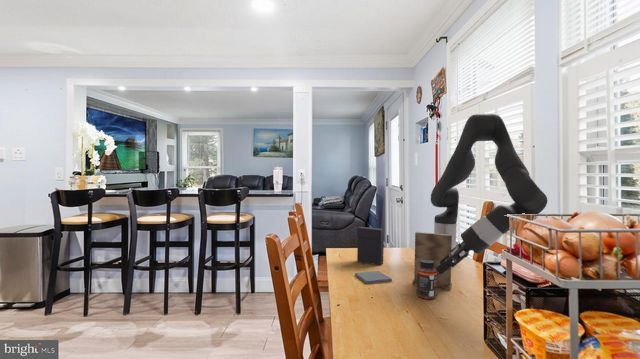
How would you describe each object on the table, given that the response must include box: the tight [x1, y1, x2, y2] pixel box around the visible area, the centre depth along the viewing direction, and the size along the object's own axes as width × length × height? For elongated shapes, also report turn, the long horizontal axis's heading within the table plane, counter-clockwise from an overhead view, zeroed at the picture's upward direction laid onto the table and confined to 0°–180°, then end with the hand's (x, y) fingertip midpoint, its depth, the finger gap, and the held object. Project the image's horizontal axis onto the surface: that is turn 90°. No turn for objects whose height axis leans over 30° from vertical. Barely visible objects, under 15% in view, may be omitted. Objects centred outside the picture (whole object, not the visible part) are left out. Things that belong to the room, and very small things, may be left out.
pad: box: [354, 270, 393, 285], centre depth 125 cm, size 10×10×1 cm
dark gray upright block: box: [356, 226, 385, 266], centre depth 146 cm, size 11×4×15 cm, turn 58°
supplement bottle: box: [416, 260, 437, 300], centre depth 107 cm, size 6×6×11 cm
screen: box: [412, 231, 453, 291], centre depth 118 cm, size 12×5×18 cm, turn 63°
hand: (440, 267), depth 105 cm, fingers open, 8 cm apart
